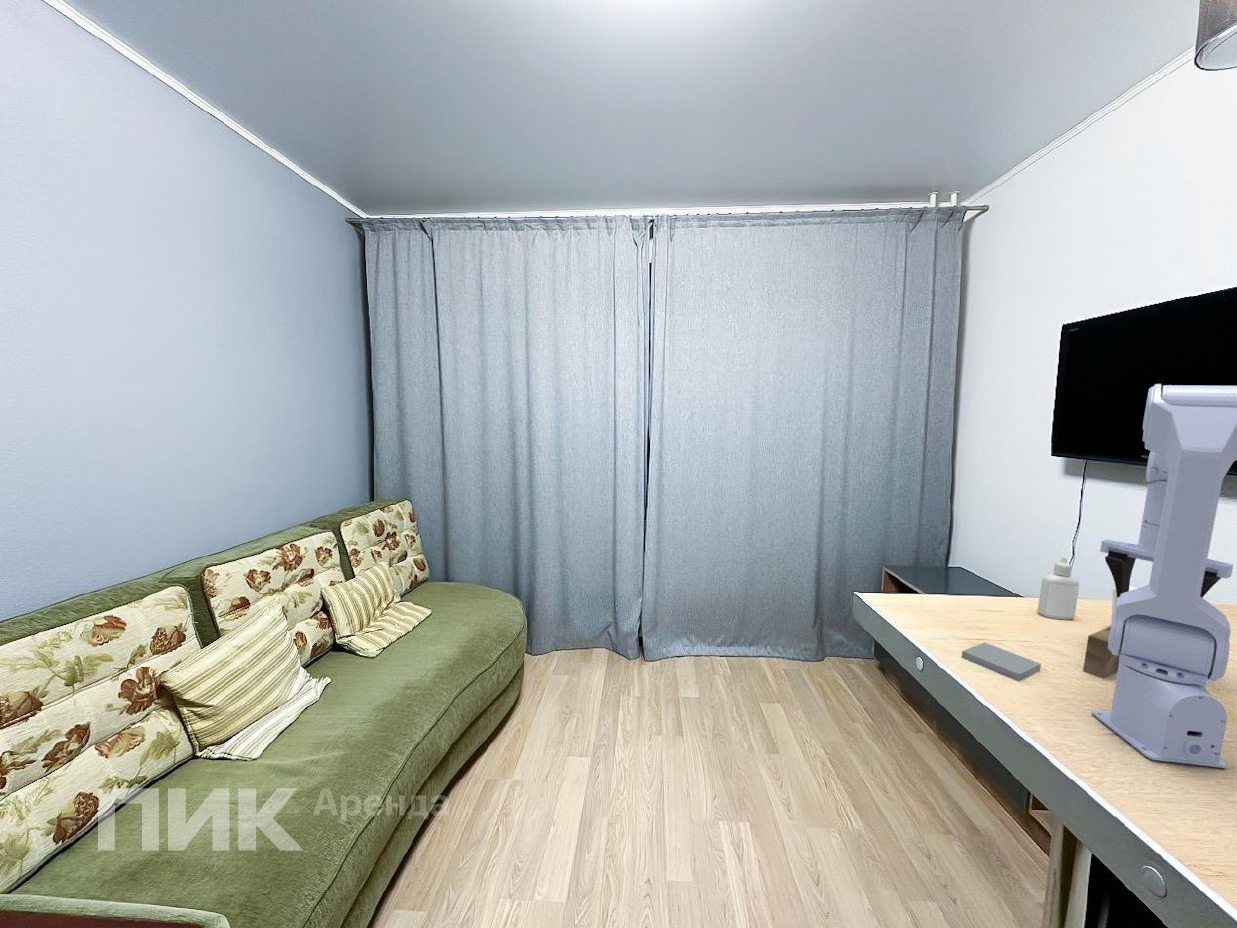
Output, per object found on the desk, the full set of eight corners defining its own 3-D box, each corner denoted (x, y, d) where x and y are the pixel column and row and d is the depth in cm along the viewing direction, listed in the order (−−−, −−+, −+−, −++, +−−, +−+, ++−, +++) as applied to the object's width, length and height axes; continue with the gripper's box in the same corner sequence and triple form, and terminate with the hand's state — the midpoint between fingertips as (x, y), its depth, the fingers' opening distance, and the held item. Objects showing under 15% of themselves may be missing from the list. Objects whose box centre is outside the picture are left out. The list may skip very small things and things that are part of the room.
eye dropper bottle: (1074, 623, 100) (1083, 563, 98) (1037, 615, 103) (1045, 556, 102) (1073, 616, 103) (1082, 558, 101) (1037, 608, 106) (1045, 551, 105)
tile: (1041, 663, 81) (1019, 674, 78) (1039, 673, 81) (1018, 684, 78) (984, 642, 88) (962, 651, 85) (983, 651, 88) (961, 660, 85)
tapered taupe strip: (1102, 679, 80) (1108, 642, 79) (1082, 671, 82) (1088, 635, 81) (1139, 660, 86) (1145, 625, 85) (1120, 653, 88) (1125, 619, 88)
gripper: (1245, 533, 78) (1228, 620, 79) (1117, 512, 90) (1105, 588, 92) (1230, 538, 74) (1213, 628, 76) (1100, 516, 87) (1088, 594, 89)
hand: (1153, 607), depth 84 cm, fingers open, 7 cm apart
